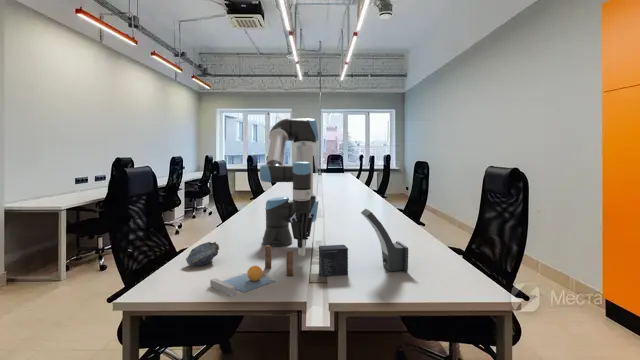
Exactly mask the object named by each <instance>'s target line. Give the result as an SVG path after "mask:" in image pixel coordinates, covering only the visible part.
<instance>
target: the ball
mask: <svg viewBox="0 0 640 360" xmlns="http://www.w3.org/2000/svg"><path fill="white" fill-rule="evenodd" d="M246 274H247V276H248V278H249V279H250V280H251V281H258V280H259V279H261V277H262V276H263V270H262V268H261V267H260V266H259V265H252V266H250V267H249V268H248V270H247V273H246Z"/></svg>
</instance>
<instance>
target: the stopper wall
mask: <svg viewBox="0 0 640 360" xmlns="http://www.w3.org/2000/svg"><path fill="white" fill-rule="evenodd" d="M209 281H210V282H209V283H210V287H211V288H213V289H214V290H218V291H219V292H222V293H223V294H225V295H227V296H229V297H230V296H234V295H236V294H237V289H236V287H235V286H233V285H230V284H228V283H226V282H223V281H224V280H221V279H219V278H216V277H214V278H212V279H211V278H210V280H209Z"/></svg>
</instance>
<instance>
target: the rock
mask: <svg viewBox="0 0 640 360" xmlns="http://www.w3.org/2000/svg"><path fill="white" fill-rule="evenodd" d="M219 245H220V244H219V243H217V242H216V241H213V242H211V241H207V242H204V243H201V244H199V245H197V246H196V247H194V248H192V249H191V250H190V252H189V254H188V256H187V257H185V261H186V263H187V265H188V266H193V267H194V266H203V265H209V264H210V263H211V262H212V261H213V259H214V258H215V257H216V256H218V254H219V250H220V246H219Z"/></svg>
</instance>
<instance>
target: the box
mask: <svg viewBox="0 0 640 360" xmlns="http://www.w3.org/2000/svg"><path fill="white" fill-rule="evenodd" d="M318 272H319V274H320V277H336V276H337V277H338V276H348V275H349V248H348V247H347V246H346V245H345V244H328V245H319V246H318Z"/></svg>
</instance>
